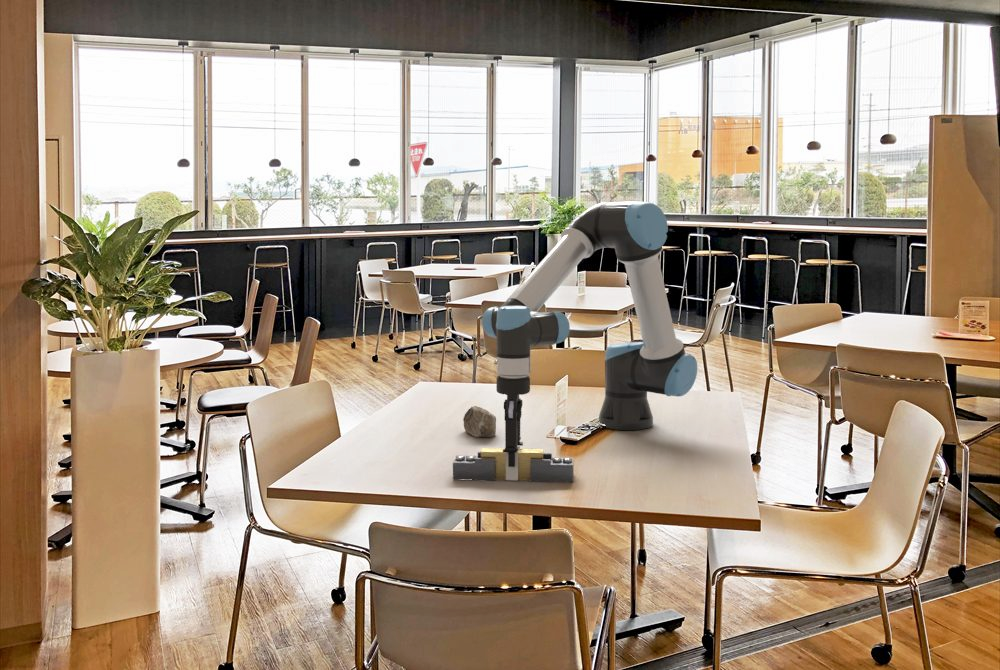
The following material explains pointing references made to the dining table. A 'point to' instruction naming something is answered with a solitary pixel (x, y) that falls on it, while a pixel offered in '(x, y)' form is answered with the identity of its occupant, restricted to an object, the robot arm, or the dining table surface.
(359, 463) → the dining table surface
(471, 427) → the stone
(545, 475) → the grey block pair
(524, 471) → the yellow wood block
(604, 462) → the dining table surface
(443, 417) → the dining table surface
